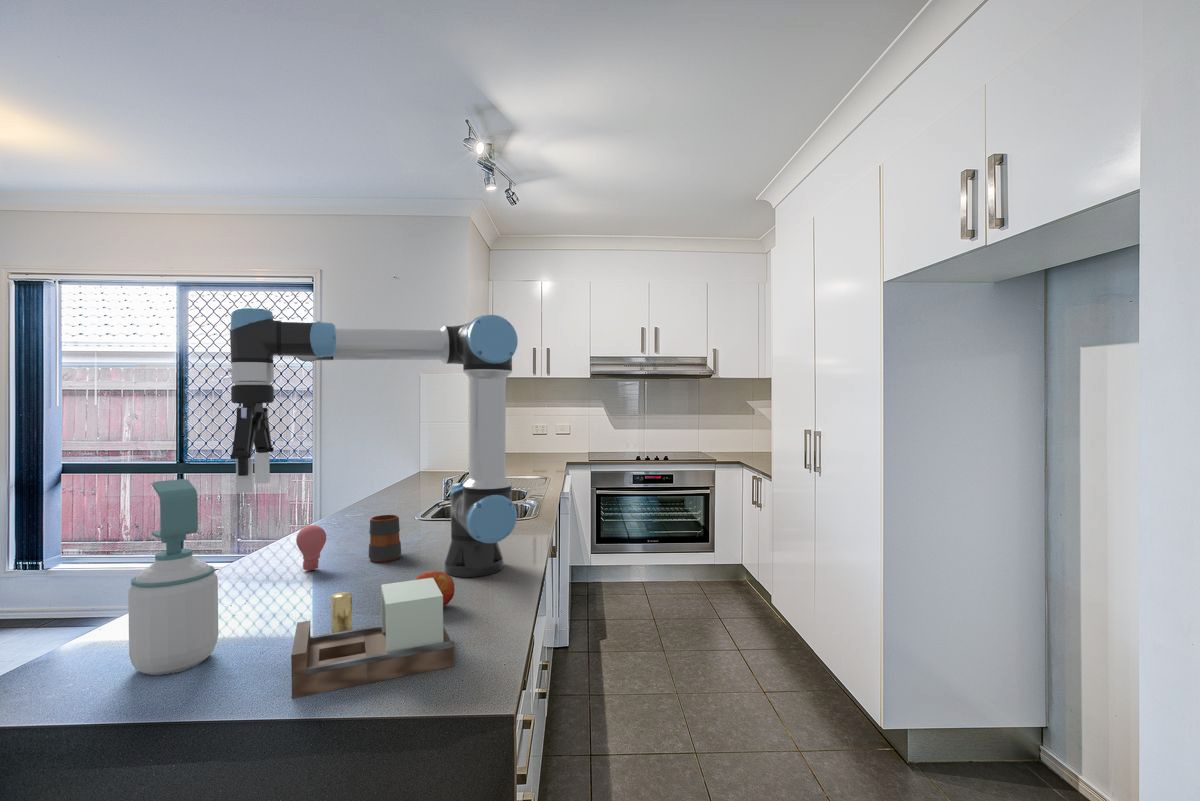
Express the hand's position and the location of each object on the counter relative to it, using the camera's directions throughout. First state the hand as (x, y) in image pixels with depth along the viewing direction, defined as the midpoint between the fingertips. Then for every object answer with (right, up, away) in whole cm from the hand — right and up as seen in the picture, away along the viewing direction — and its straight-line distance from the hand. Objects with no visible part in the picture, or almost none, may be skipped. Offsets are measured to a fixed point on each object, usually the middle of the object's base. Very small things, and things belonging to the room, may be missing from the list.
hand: (254, 487), depth 118 cm
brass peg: (+23, -27, -10) cm, 36 cm away
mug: (+10, -27, +46) cm, 54 cm away
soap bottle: (-1, -27, -20) cm, 34 cm away
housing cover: (+38, -23, -18) cm, 49 cm away
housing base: (+33, -27, -21) cm, 47 cm away
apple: (+36, -27, +5) cm, 45 cm away
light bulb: (-5, -27, +33) cm, 43 cm away
